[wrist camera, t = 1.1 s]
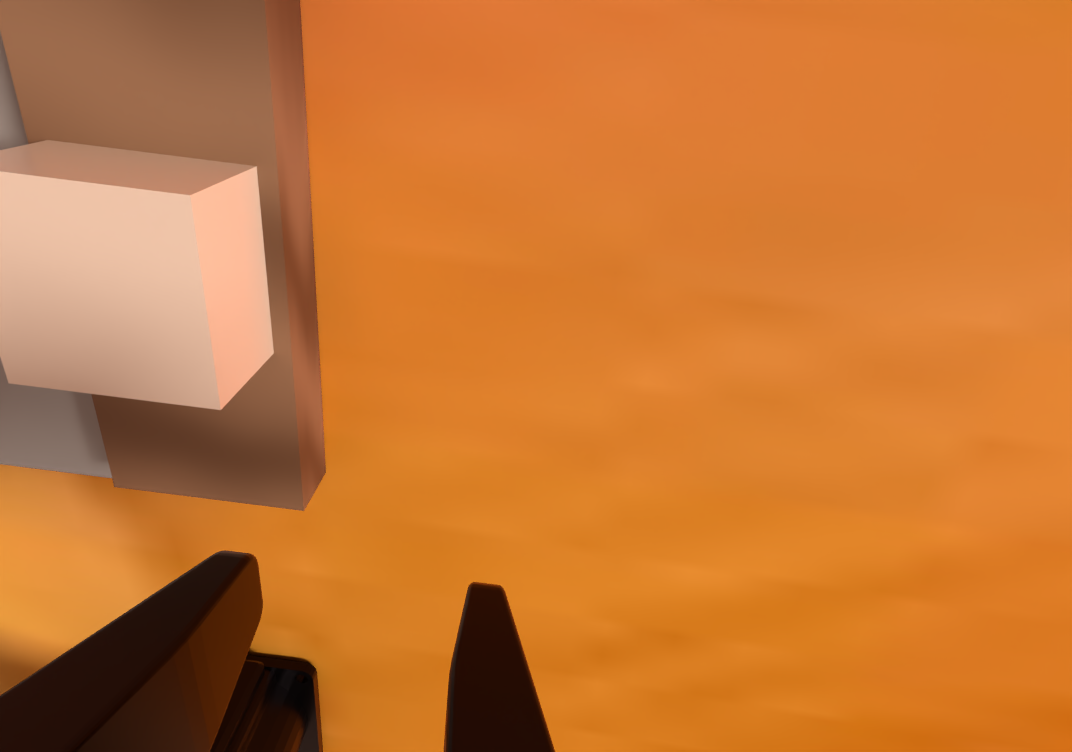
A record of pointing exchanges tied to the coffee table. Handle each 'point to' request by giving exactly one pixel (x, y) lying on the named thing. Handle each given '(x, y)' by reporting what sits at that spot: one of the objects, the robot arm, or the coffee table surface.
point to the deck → (210, 134)
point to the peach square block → (131, 274)
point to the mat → (34, 412)
